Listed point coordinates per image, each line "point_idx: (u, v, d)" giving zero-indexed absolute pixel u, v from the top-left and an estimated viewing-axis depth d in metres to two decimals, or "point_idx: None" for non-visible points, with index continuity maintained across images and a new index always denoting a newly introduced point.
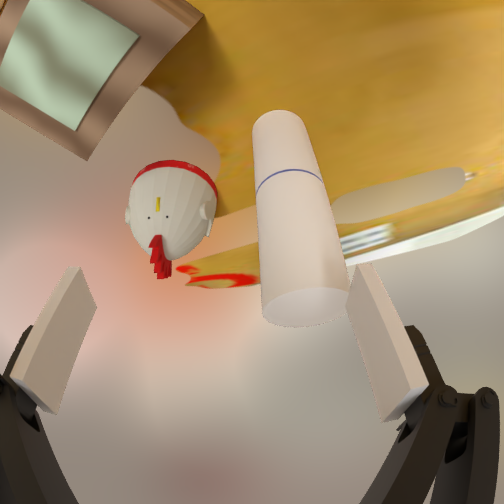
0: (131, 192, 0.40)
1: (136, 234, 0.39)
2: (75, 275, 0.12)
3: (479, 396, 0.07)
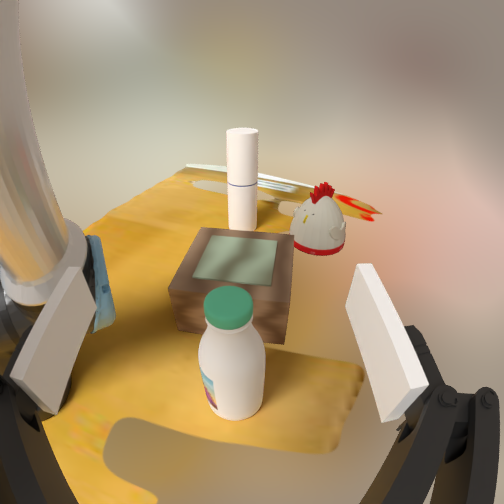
0: (324, 243, 0.65)
1: (329, 213, 0.64)
2: (75, 275, 0.12)
3: (479, 396, 0.07)
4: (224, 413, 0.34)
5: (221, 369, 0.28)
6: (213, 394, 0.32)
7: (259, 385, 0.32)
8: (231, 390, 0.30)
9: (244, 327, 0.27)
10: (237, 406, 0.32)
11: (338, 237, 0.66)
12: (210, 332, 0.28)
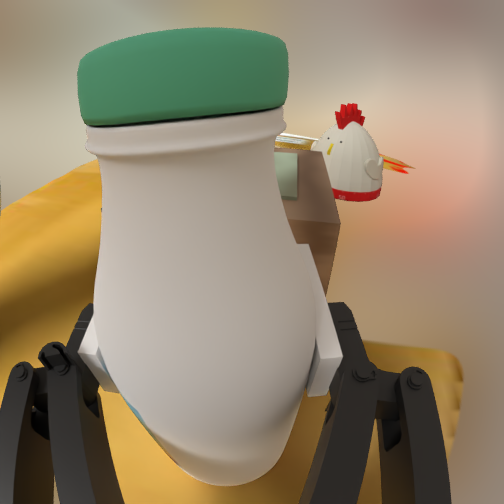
0: (358, 182, 0.44)
1: (363, 142, 0.42)
2: None
3: (404, 378, 0.08)
4: (197, 476, 0.12)
5: (149, 372, 0.06)
6: (157, 440, 0.10)
7: (291, 419, 0.10)
8: (203, 443, 0.08)
9: (250, 128, 0.05)
10: (227, 470, 0.10)
11: (376, 176, 0.44)
12: (103, 198, 0.06)
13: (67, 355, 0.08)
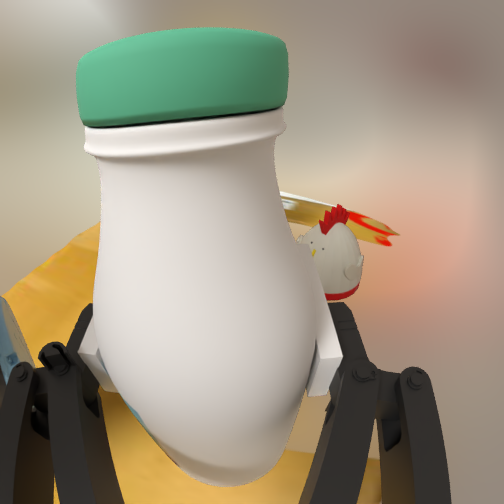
0: (337, 285, 0.49)
1: (344, 247, 0.48)
2: None
3: (404, 378, 0.08)
4: (197, 477, 0.12)
5: (149, 374, 0.06)
6: (157, 441, 0.10)
7: (291, 420, 0.10)
8: (202, 445, 0.08)
9: (250, 129, 0.05)
10: (227, 471, 0.10)
11: (354, 277, 0.50)
12: (102, 200, 0.06)
13: (67, 355, 0.08)
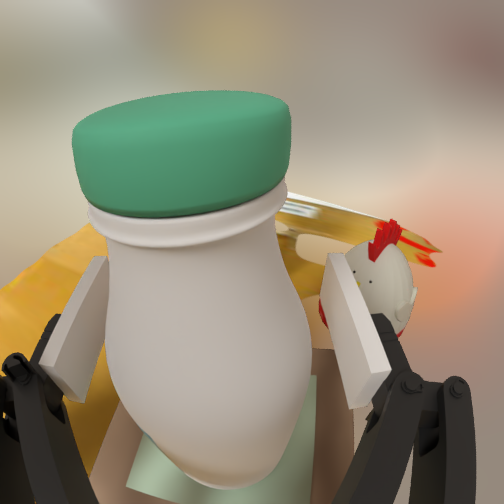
0: None
1: (398, 280, 0.33)
2: (102, 264, 0.13)
3: (447, 386, 0.07)
4: (201, 482, 0.13)
5: (162, 412, 0.07)
6: (165, 455, 0.10)
7: (288, 436, 0.11)
8: (208, 462, 0.08)
9: (252, 215, 0.05)
10: (230, 479, 0.11)
11: (406, 317, 0.34)
12: (110, 262, 0.06)
13: (27, 364, 0.07)
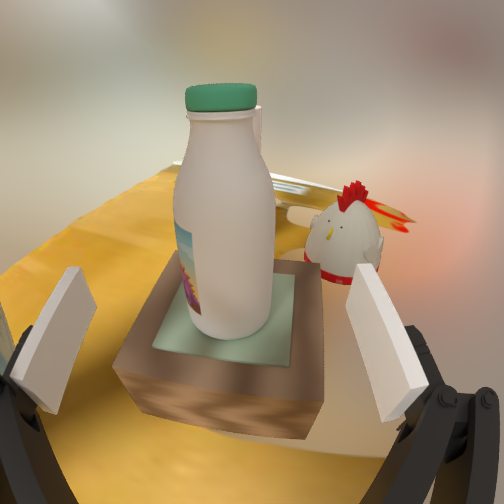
0: None
1: (364, 226, 0.44)
2: (75, 275, 0.12)
3: (479, 396, 0.07)
4: (211, 321, 0.24)
5: (205, 197, 0.18)
6: (193, 271, 0.21)
7: (267, 257, 0.22)
8: (221, 250, 0.19)
9: (243, 114, 0.16)
10: (231, 298, 0.22)
11: (374, 259, 0.45)
12: (192, 137, 0.18)
13: None
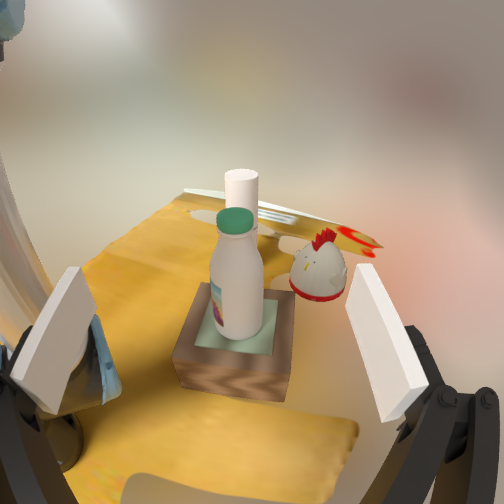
0: (325, 290, 0.65)
1: (331, 261, 0.63)
2: (75, 275, 0.12)
3: (479, 396, 0.07)
4: (229, 330, 0.43)
5: (228, 273, 0.38)
6: (221, 305, 0.41)
7: (259, 297, 0.42)
8: (236, 297, 0.39)
9: (247, 234, 0.36)
10: (240, 318, 0.42)
11: (339, 284, 0.65)
12: (220, 241, 0.37)
13: None
